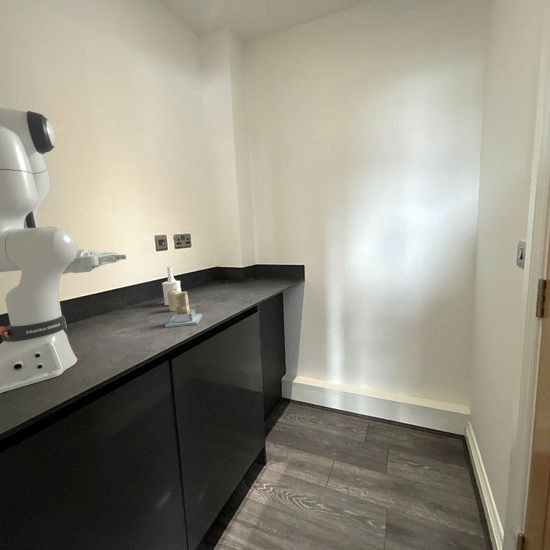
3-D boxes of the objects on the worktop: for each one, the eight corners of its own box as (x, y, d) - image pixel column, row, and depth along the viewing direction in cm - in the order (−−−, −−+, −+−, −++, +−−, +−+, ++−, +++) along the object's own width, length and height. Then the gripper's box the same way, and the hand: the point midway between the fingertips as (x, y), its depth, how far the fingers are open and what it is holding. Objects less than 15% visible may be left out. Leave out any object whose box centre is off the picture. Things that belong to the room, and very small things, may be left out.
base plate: (173, 318, 124) (173, 316, 124) (202, 315, 125) (201, 313, 124) (165, 327, 112) (165, 325, 112) (196, 324, 113) (196, 322, 113)
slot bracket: (179, 317, 122) (178, 310, 121) (195, 315, 122) (194, 308, 122) (174, 322, 114) (174, 315, 114) (192, 320, 115) (191, 313, 114)
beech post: (178, 321, 116) (174, 294, 114) (180, 318, 120) (177, 292, 118) (188, 320, 116) (184, 293, 115) (190, 317, 120) (187, 291, 119)
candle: (177, 311, 136) (175, 290, 135) (167, 311, 137) (164, 290, 136) (183, 308, 141) (181, 288, 140) (173, 308, 142) (170, 288, 141)
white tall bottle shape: (161, 304, 153) (156, 267, 151) (177, 300, 160) (173, 264, 157) (170, 307, 146) (165, 267, 143) (187, 302, 152) (182, 265, 150)
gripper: (64, 254, 100) (105, 251, 101) (95, 251, 121) (129, 248, 122) (67, 272, 101) (108, 269, 102) (98, 266, 122) (132, 263, 123)
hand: (120, 257), depth 112 cm, fingers open, 8 cm apart
